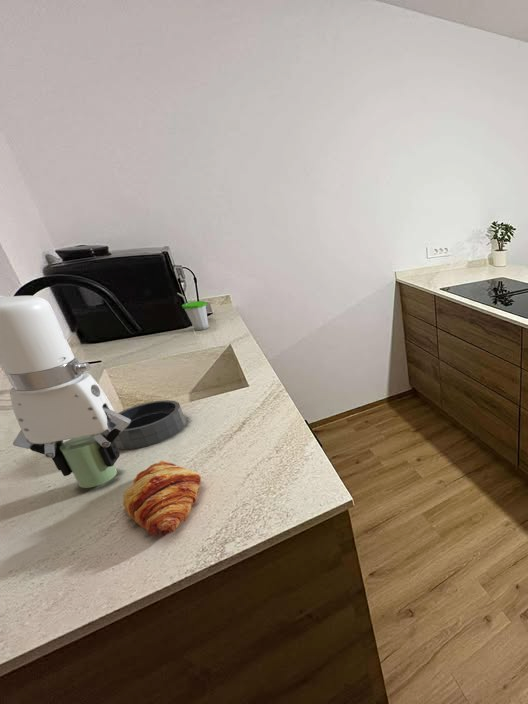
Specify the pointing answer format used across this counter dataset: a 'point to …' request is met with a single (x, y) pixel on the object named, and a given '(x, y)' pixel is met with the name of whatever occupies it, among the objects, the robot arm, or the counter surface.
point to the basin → (149, 424)
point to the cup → (196, 313)
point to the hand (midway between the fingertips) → (92, 465)
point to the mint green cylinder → (86, 461)
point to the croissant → (161, 497)
